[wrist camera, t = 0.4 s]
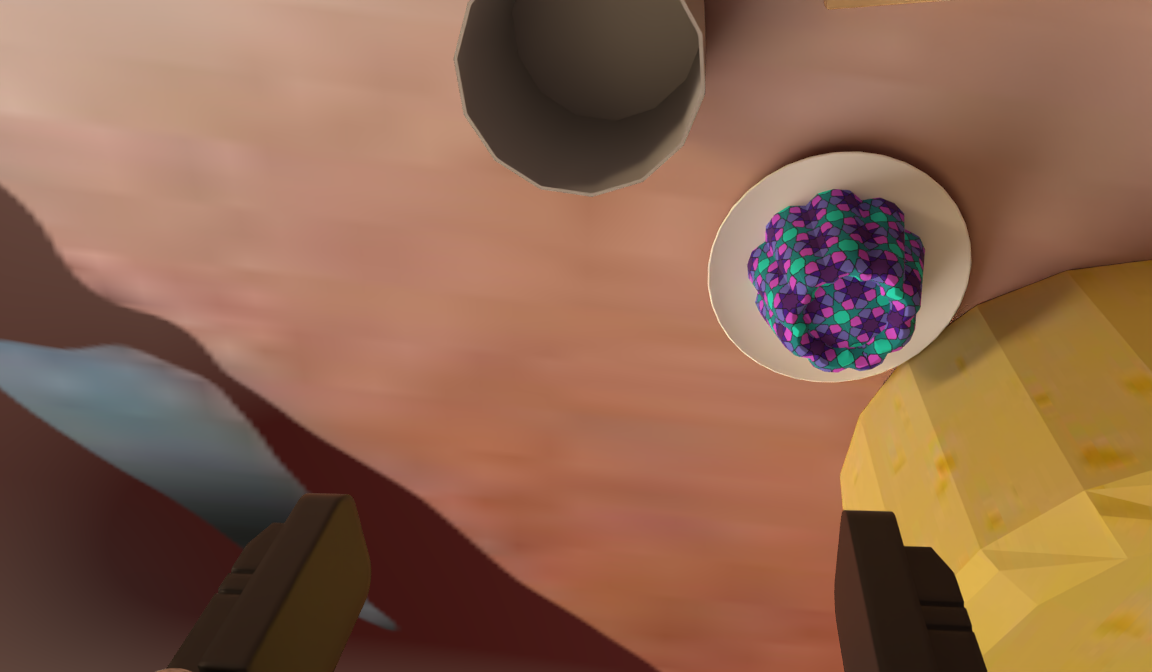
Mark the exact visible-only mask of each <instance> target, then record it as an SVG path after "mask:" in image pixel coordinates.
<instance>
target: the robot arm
mask: <svg viewBox="0 0 1152 672" xmlns="http://www.w3.org/2000/svg"><path fill="white" fill-rule="evenodd" d="M370 581H371V562H370V557H369V554H368V550H367V546H366V542H365V538H364V535H363V531H362V527H361V523H360V520H359V516H358V512H357V508H356V505H355V502H354V500H353V498H352V497H351V496H350V495H348V494H315V493H307V494H304V495H303V496H302V497H301V498H300V499H299V501H298V502H297V504H296V505H295V507H294V509H293V510H292V512H291V513H290V515H289V517H288V518H287V520H286V522H285V523H272V524H271V525H270V526H268V527H267V528H266V529H265V530H264V531H262V532H261V533H260V534H259V535H258V536H256V537H255V538H254V539H253V540H252V541H250V542H249V543H248V544H247V545H246V547H245V549H244V550H243V552H242V553H241V555H240V556H239V558H238V559H237V561H236V562H235V564H234V566H233V567H232V572H231V574H230V573H229V574H228V575H227V576H226V578H225V579H224V581H223V583H222V584H221V585H220V587H219V592H218V594H215V595H214V596H213V598H212V599H211V601H210V603H209V604H208V606H207V607H206V608H205V610H204V612H203V613H202V615H201V616H200V618H199V619H198V621H197V622H196V624H195V625H194V627H193V629H192V630H191V632H190V633H189V635H188V636H187V638H186V639H185V641H184V643H183V644H182V645H181V647H180V648H179V650H178V652H177V653H176V655H175V656H174V658H173V659H172V661H171V663H170V664H169V665H168V667H167V668H166V669H163V670H159V671H156V672H334V670H335V668H336V665H337V663H338V661H339V658H340V656H341V654H342V652H343V650H344V647H345V645H346V642H347V641H348V638H349V636H350V634H351V632H352V630H353V627H354V625H355V623H356V621H357V618H358V616H359V614H360V612H361V609H362V607H363V605H364V603H365V600H366V598H367V595H368V592H369V587H370ZM834 595H835V614H836V622H837V629H838V635H839V641H840V647H841V653H842V659H843V665H844V671H845V672H988V671H987V668H986V665H985V663H984V660H983V657H982V654H981V651H980V648H979V645H978V642H977V639H976V636H975V633H974V632H973V631H972V624H971V621H970V618H969V615H968V612H967V609H966V608H965V607H964V600H963V597H962V594H961V591H960V588H959V585H958V582H957V579H956V576H955V573H954V572H953V571H952V570H951V569H950V568H949V566H948V565H947V564H946V563H945V562H944V561H943V560H942V559H941V557H940V556H939V555H938V554H937V553H936V552H935V551H934V550H933V548H932V547H918V546H904V544H903V541H902V537H901V534H900V530H899V526H898V523H897V519H896V516H895V514H894V513H893V512H892V511H862V510H843V512H842V516H841V523H840V534H839V544H838V554H837V564H836V574H835V590H834Z"/></svg>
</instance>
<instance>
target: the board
mask: <svg viewBox="0 0 1152 672" xmlns="http://www.w3.org/2000/svg"><path fill="white" fill-rule="evenodd" d="M934 1H948V0H824V5H825V7H826V8H827V9H841V8H855V7H868V6H881V5H894V4H908V3H921V2H934Z"/></svg>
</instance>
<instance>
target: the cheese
mask: <svg viewBox="0 0 1152 672" xmlns="http://www.w3.org/2000/svg"><path fill="white" fill-rule="evenodd" d="M840 481H841V492H842V503H843V510H862V511H892V512H893V513H894V514H895V516H896V519H897V523H898V526H899V530H900V534H901V537H902V541H903V544H904V546H918V547H932V548H933V550H934V551H935V552H936V553H937V554H938V555H939V556H940V557H941V559H942V560H943V561H944V562H945V563H946V564H947V565H948V566H949V568H950V569H951V570H952V571H953V572H954V573H955V576H956V579H957V582H958V585H959V588H960V591H961V594H962V597H963V600H964V607H965V608H966V609H967V612H968V615H969V618H970V621H971V624H972V631H973V632H974V633H975V636H976V639H977V642H978V645H979V648H980V651H981V654H982V657H983V660H984V663H985V665H986V668H987V671H988V672H1152V260H1148V261H1140V262H1132V263H1124V264H1116V265H1108V266H1100V267H1092V268H1084V269H1077V270H1069V271H1064V272H1062V273H1059V274H1057V275H1054V276H1051V277H1049V278H1046V279H1044V280H1041V281H1039V282H1036V283H1033V284H1031V285H1028V286H1026V287H1023V288H1020V289H1018V290H1015V291H1013V292H1010V293H1008V294H1005V295H1002V296H1000V297H997V298H995V299H992V300H989V301H987V302H984V303H982V304H979V305H977V306H975V307H974V308H972V309H971V310H969V311H968V312H967V313H965V314H964V315H962V316H961V317H960V318H958V319H957V320H955V321H954V322H953V323H951V324H950V325H949V326H947V327H946V328H944V330H943V331H942V332H941V333H940V334H939V335H938V337H937V338H936V339H935V340H934V341H933V342H931V343H930V344H929V345H928V346H927V347H926V348H924V349H923V350H922V351H921V352H920V353H918V354H917V355H915V356H914V357H912V358H910V359H909V360H907V361H905V362H904V363H902V364H901V365H899V366H898V367H897V368H896V369H895V370H894V372H893V373H892V374H891V376H890V377H889V378H888V379H887V381H886V382H885V383H884V385H883V386H882V387H881V388H880V390H879V391H878V392H877V394H876V395H875V396H874V397H873V399H872V400H871V401H870V403H869V404H868V405H867V406H866V408H865V409H864V410H863V412H862V413H861V414H860V416H859V419H858V422H857V425H856V428H855V431H854V434H853V437H852V440H851V443H850V446H849V449H848V453H847V456H846V459H845V462H844V465H843V468H842V471H841V474H840Z"/></svg>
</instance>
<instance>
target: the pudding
mask: <svg viewBox="0 0 1152 672" xmlns="http://www.w3.org/2000/svg"><path fill="white" fill-rule="evenodd" d="M970 270H971V243H970V239H969V235H968V231H967V227H966V223H965V221H964V219H963V217H962V215H961V213H960V211H959V209H958V207H957V205H956V203H955V202H954V201H953V200H952V198H951V197H950V196H949V195H948V193H947V192H946V191H945V190H944V188H943V187H942V186H940V185H939V184H938V183H937V182H936V181H934V180H933V179H932V178H931V177H930V176H928V175H927V174H926V173H924V172H922V171H921V170H919V169H917V168H915V167H913V166H912V165H910V164H908V163H906V162H903V161H900V160H897V159H894V158H891V157H888V156H885V155H880V154H873V153H866V152H832V153H827V154H822V155H816V156H811V157H808V158H805V159H802V160H800V161H797V162H794V163H791V164H788V165H786V166H784V167H782V168H781V169H779V170H777V171H775V172H773V173H772V174H770V175H768V176H766V177H765V178H763V179H762V180H761V181H760V182H758V183H757V184H756V185H754V186H753V187H752V188H751V189H749V190H748V191H747V192H746V193H745V194H744V195H743V196H742V197H741V199H740V200H739V201H738V202H737V203H736V204H735V205H734V206H733V207H732V208H731V210H730V212H729V213H728V215H727V216H726V218H725V219H724V221H723V223H722V224H721V226H720V228H719V230H718V233H717V235H716V237H715V240H714V242H713V245H712V249H711V253H710V258H709V263H708V289H709V294H710V300H711V305H712V307H713V310H714V312H715V315H716V317H717V319H718V322H719V323H720V325H721V327H722V328H723V330H724V331H725V333H726V334H727V336H728V337H729V339H730V340H731V341H732V342H733V343H734V344H735V345H736V346H737V347H738V348H739V349H740V350H741V351H742V352H743V353H744V354H746V355H747V356H748V357H750V358H751V359H753V360H754V361H755V362H757V363H758V364H760V365H762V366H764V367H766V368H768V369H770V370H772V371H774V372H776V373H779V374H782V375H785V376H789V377H792V378H795V379H801V380H807V381H813V382H843V381H851V380H858V379H862V378H866V377H869V376H873V375H877V374H880V373H882V372H885V371H887V370H889V369H892V368H894V367H896V366H899V365H901V364H902V363H904V362H905V361H907V360H909V359H910V358H912V357H914V356H915V355H917V354H918V353H920V352H921V351H922V350H923V349H924V348H926V347H927V346H928V345H929V344H930V343H931V342H933V341H934V340H935V339H936V338H937V337H938V335H939V334H940V333H941V332H942V331H943V330H944V328H945V327H946V326H947V325H948V324H949V323H950V321H951V319H952V318H953V316H954V314H955V313H956V311H957V309H958V308H959V306H960V304H961V302H962V299H963V296H964V294H965V291H966V288H967V286H968V281H969V275H970Z"/></svg>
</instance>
